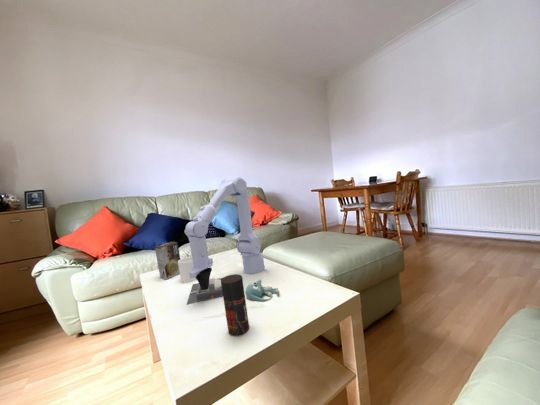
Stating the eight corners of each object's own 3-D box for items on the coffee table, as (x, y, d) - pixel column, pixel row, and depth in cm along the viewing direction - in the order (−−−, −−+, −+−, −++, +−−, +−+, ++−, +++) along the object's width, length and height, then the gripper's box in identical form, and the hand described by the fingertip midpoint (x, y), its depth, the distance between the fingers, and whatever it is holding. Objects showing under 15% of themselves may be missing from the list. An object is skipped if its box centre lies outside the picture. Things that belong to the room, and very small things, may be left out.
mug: (205, 273, 116) (202, 253, 115) (210, 278, 109) (207, 256, 108) (180, 281, 110) (176, 259, 109) (183, 287, 102) (179, 264, 102)
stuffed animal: (283, 285, 79) (247, 286, 77) (281, 306, 80) (246, 307, 78) (276, 274, 90) (245, 274, 88) (275, 292, 90) (243, 293, 88)
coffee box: (176, 271, 125) (171, 241, 123) (183, 272, 121) (178, 242, 120) (159, 278, 118) (154, 246, 116) (166, 279, 114) (161, 247, 112)
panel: (235, 278, 105) (234, 272, 104) (237, 296, 87) (236, 289, 87) (193, 286, 101) (192, 280, 101) (187, 307, 84) (185, 300, 83)
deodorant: (229, 324, 70) (222, 276, 69) (249, 321, 70) (242, 273, 69) (227, 337, 64) (219, 284, 63) (249, 334, 64) (241, 281, 63)
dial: (203, 286, 97) (202, 277, 97) (223, 282, 99) (221, 273, 98) (201, 298, 86) (200, 288, 86) (223, 294, 88) (222, 283, 87)
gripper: (200, 259, 79) (206, 298, 80) (217, 246, 93) (222, 280, 94) (181, 260, 80) (187, 299, 81) (201, 248, 94) (206, 280, 95)
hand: (205, 288), depth 88 cm, fingers closed
